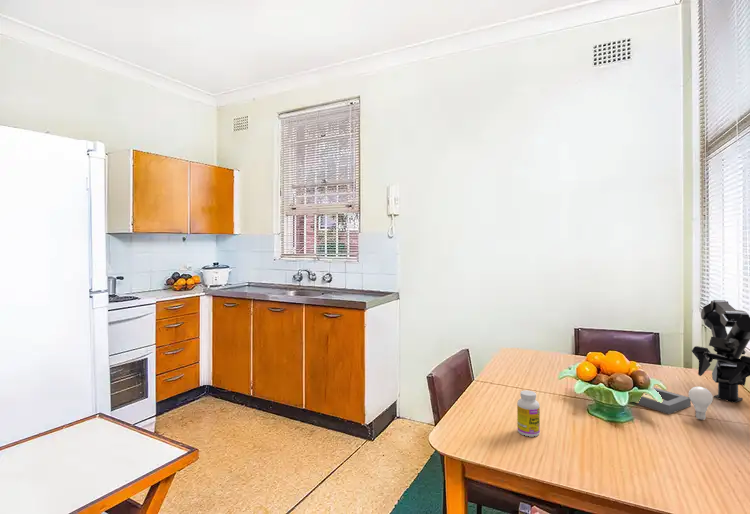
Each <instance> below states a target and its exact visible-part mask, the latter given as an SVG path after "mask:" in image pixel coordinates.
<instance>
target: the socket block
mask: <svg viewBox="0 0 750 514" xmlns="http://www.w3.org/2000/svg"><path fill="white" fill-rule="evenodd" d="M654 389H655V390H656V391H657V392H659V394H660V395H661V397H662V400H663V402H662V403H660V402H657V401H656V400H654V399H653V398H652V397H651V396H650V395H647V394H645V395H643V396H642V397H641V399H640V401H639V403H638V404H637V405H639V406H643V407H646V408H649V409H651V410H654V411H658V412H662V413H664V414H667V415H671V414H674V413H676V412H679V411H681V410H683V409H686V408H689V407H691V403H692V402H691V400H690V399H689V396H685V395H682V394H679V393H675V392H672V391H668V390H664V389H660V388H657V387H654Z"/></svg>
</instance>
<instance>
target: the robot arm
mask: <svg viewBox="0 0 750 514" xmlns="http://www.w3.org/2000/svg"><path fill="white" fill-rule="evenodd" d="M700 317H701V319H702V320H703V323H704V325H705V326H706V327H707V328H708V329H710V330H711V335H712V336H710V340H709V344H708V346H709V347H713V351H714V352H711V351H710V350H709V349H708V348H707V347H705V346H704V347H703V346H699V345H698V346H697V345H696V346H694V347H693V348H692V349H691V353H692V354H693V355H694V356H695V358H696V359H697V360H698V373H697V374H698V376H700V377H701V376H703V375H704V373H706V371H707V370H708V368H709V367H710V366H711V364H712V363H711V362H713V360H716V363H715V366H714V368H713V370H712V372H711V378H712V379H711V380H712V381H713V382H714V383H715V384H717V388H718V389H717V394H716V395H713V399H714V398H715V399H719V400H723V401H726V402H730V403H734V404H735V403H737V402H740V401H743V400H742V399H743V397H740V396H739V386H745V385H746V382H747V381H746V380H747V378H748V377H750V356H747V355H745V354H746V351H745V349H746V347H747V345H748V344H749V342H750V315H749V313H748V312H747V311H745V310H739V309H736V308H735V307H733V306H732V305H731V304H729V301H727V300H722V299H721V300H720V299H719V300H718V299H713V300H711V301H710V303H708V304H706V305H704V306H702V309H701V311H700ZM726 328H731V329H730V330H729V332H727V329H726Z"/></svg>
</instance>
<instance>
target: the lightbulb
mask: <svg viewBox="0 0 750 514" xmlns="http://www.w3.org/2000/svg"><path fill="white" fill-rule="evenodd" d="M688 397H689V399H690V400H691V403H692V404H693V408H694V410H695V413H694V414H695V418H696V419H697V420H699V421H704V420H706V417H707V416H706V414H707V411H708V407H709V406H711V404H713V401H714V400H713V399H714V395H713V394H712V392H711V391H710V390H709V389H708V388H706V387H704V386H699V385H698V386H693V387H691V389H689V391H688Z"/></svg>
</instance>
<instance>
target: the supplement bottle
mask: <svg viewBox="0 0 750 514" xmlns="http://www.w3.org/2000/svg"><path fill="white" fill-rule="evenodd" d="M519 393H520V394H519V395H520V398H519V399H517V405H516V406H517V407H516V408H517V411H516V412H517V416H516V417H517V418H516V421H517V423H516V424H517V428H516V429H517V432H518V434H520V435H522V436H524V435H525V436H524V437H528V436H529V437H530V438H535V437H537V436H539V435H540V434H541V433H540V431H541V430H540V429H541V427H540V426H541V425H540V424H541V422H540V418H541V417H540V416H541V415H540V407H541V406H540V403H539V401H537V393H536V392H535V391H533V390H527V389H525V390H521V391H520V392H519ZM534 436H535V437H534Z"/></svg>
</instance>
